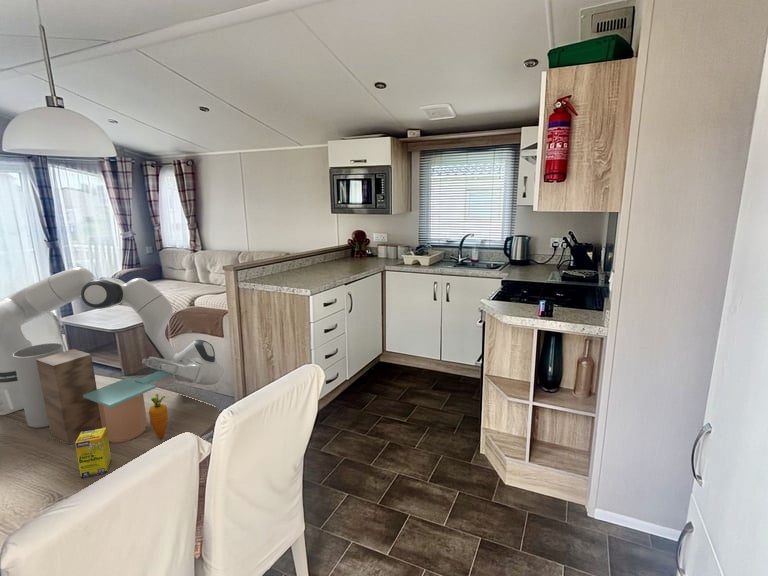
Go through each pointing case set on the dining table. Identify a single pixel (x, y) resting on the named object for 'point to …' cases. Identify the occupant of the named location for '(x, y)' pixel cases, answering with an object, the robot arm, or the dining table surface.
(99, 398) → the teal flat board
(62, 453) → the dining table surface
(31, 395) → the cylinder vase
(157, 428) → the carrot
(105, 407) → the peach faceted hollow pot
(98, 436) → the supplement box
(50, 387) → the pedestal
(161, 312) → the robot arm
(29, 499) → the dining table surface
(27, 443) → the dining table surface
